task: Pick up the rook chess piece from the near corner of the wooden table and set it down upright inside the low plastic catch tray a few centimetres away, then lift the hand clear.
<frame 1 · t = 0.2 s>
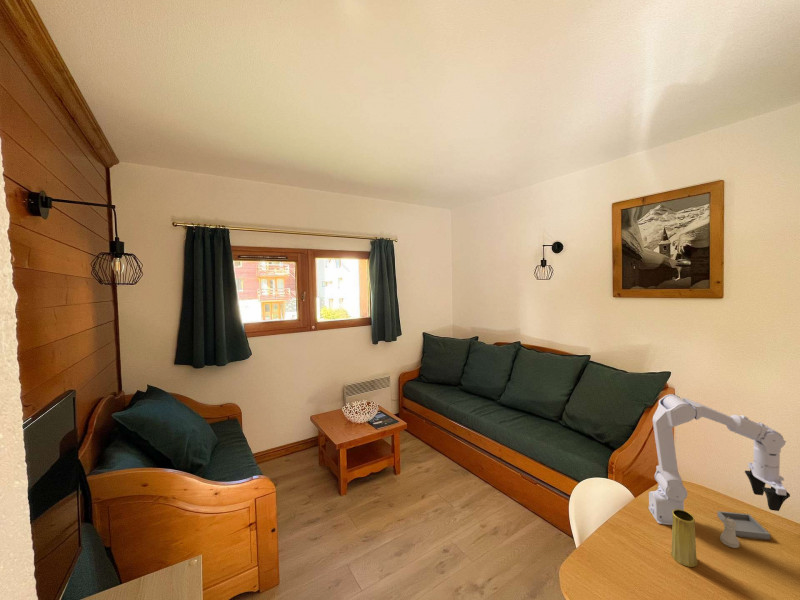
hand: (765, 501, 108), 10 cm above the table, tool pointing down, fingers open, 7 cm apart
catch tray: (742, 527, 111), on the table
vase: (684, 559, 101), on the table
rook chess piece: (729, 543, 105), on the table
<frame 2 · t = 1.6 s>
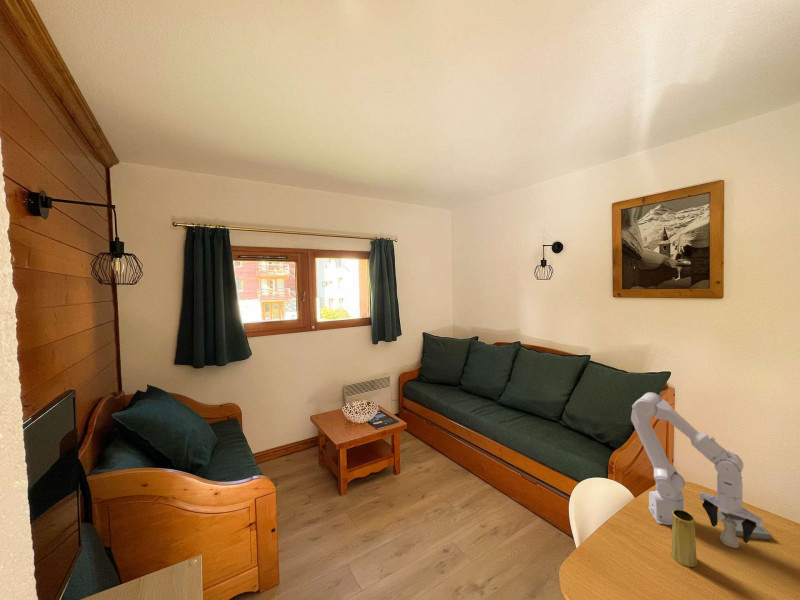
hand: (729, 532, 105), 4 cm above the table, tool pointing down, fingers open, 7 cm apart
nothing on the table moved.
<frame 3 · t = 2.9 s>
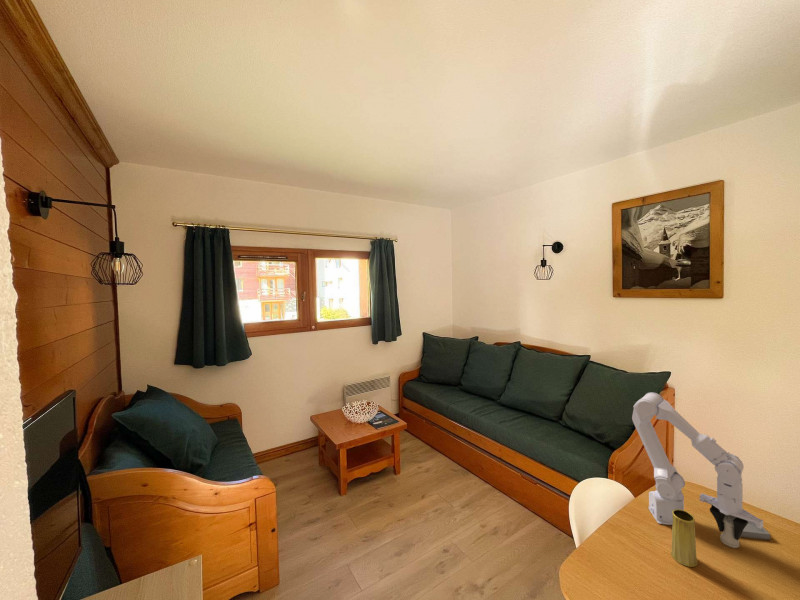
hand: (729, 534, 105), 3 cm above the table, tool pointing down, fingers closed on rook chess piece, 3 cm apart
rook chess piece: (729, 543, 105), on the table, touching gripper
everything else where it was.
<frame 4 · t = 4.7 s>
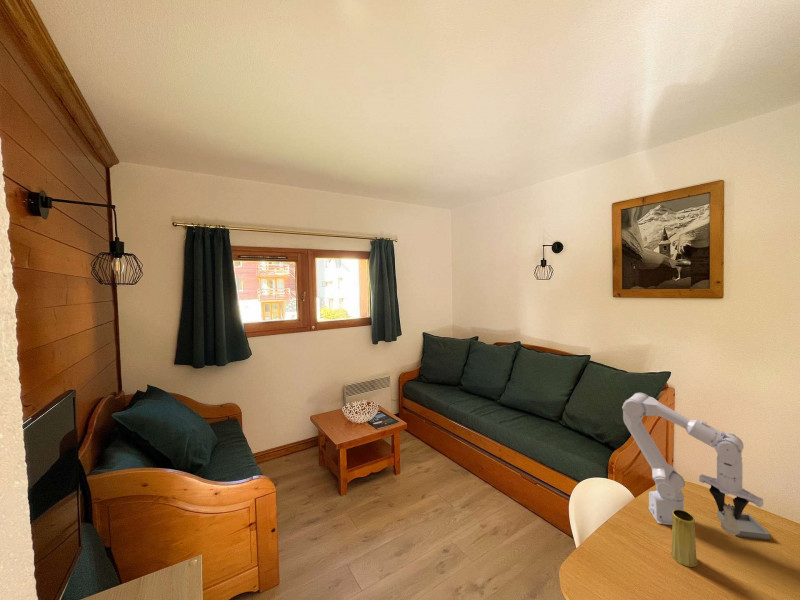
hand: (729, 514, 105), 10 cm above the table, tool pointing down, fingers closed on rook chess piece, 3 cm apart
rook chess piece: (730, 530, 105), point 4 cm above the table, touching gripper
everything else where it was.
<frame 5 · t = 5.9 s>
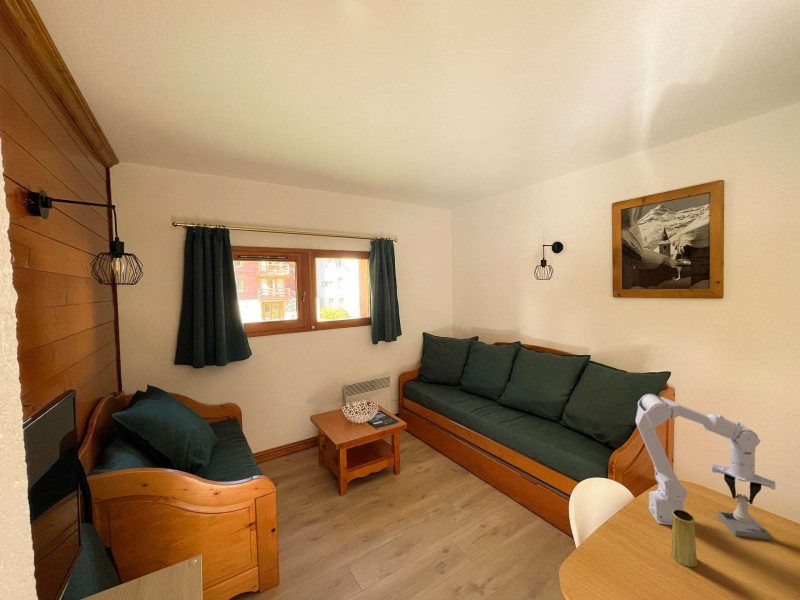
hand: (742, 499, 110), 10 cm above the table, tool pointing down, fingers closed on rook chess piece, 3 cm apart
rook chess piece: (742, 520, 110), point 3 cm above the table, touching gripper
everything else where it was.
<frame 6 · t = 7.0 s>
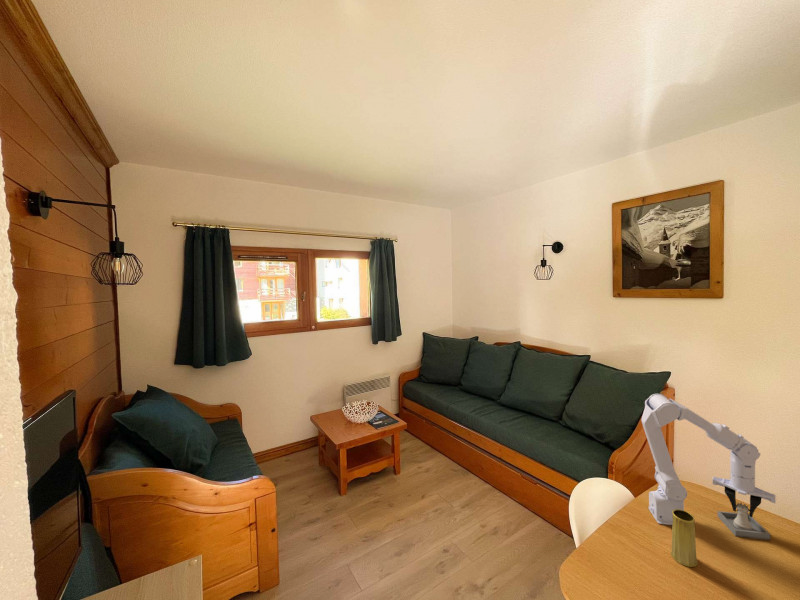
hand: (742, 512, 110), 5 cm above the table, tool pointing down, fingers closed on rook chess piece, 3 cm apart
rook chess piece: (742, 528, 110), resting on catch tray, touching gripper
everything else where it was.
when the fingers open (5 cm above the table, at t = 7.9 s): rook chess piece stays where it is, resting on catch tray.
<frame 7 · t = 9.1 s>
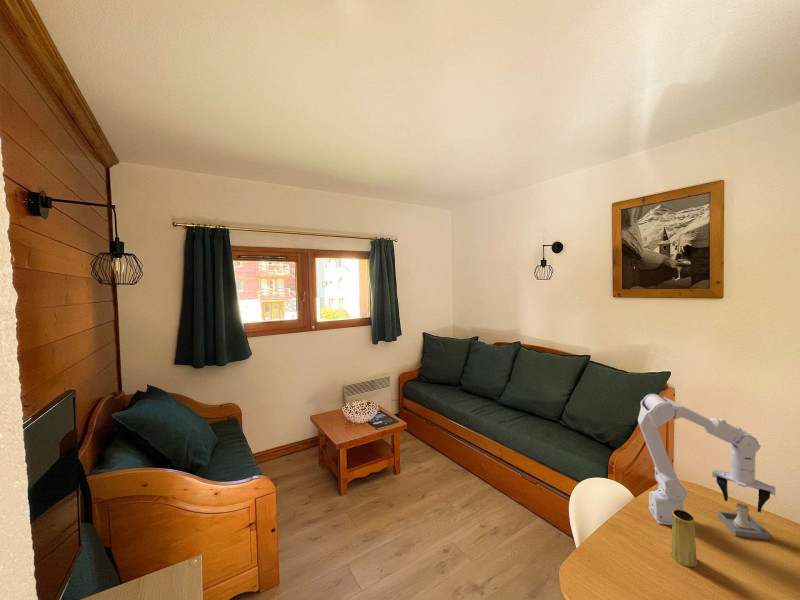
hand: (742, 504, 110), 8 cm above the table, tool pointing down, fingers open, 7 cm apart
rook chess piece: (742, 528, 110), resting on catch tray
everything else where it was.
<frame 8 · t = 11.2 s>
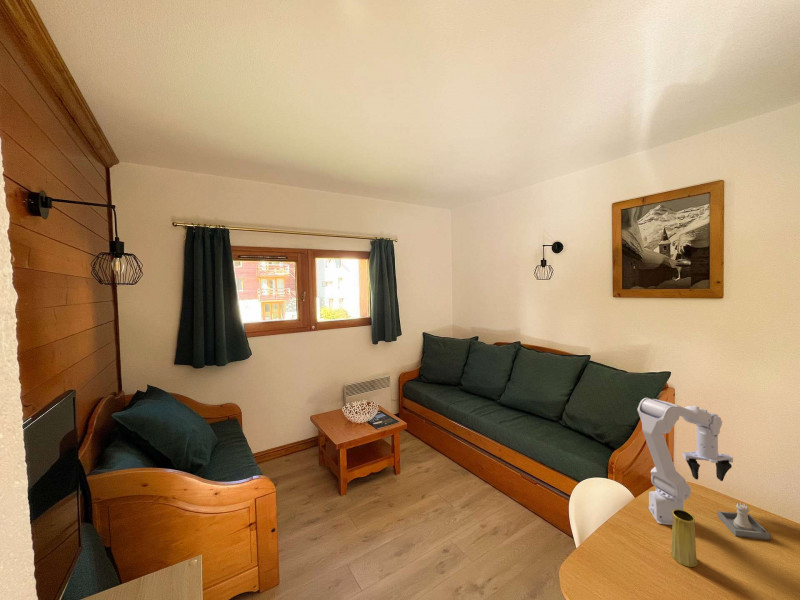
hand: (707, 478, 122), 10 cm above the table, tool pointing down, fingers open, 7 cm apart
nothing on the table moved.
at the end: rook chess piece 0.8 cm off-centre on the catch tray, point 0.2 cm above the catch tray's base; rook chess piece tilted 0°; the gripper is holding nothing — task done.
